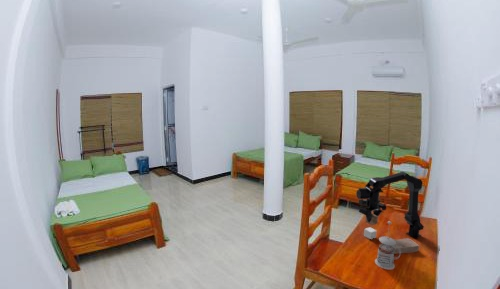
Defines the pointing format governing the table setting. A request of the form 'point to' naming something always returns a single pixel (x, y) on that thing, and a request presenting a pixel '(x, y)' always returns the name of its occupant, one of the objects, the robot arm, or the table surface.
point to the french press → (386, 246)
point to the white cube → (370, 233)
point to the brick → (405, 246)
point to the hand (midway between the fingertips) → (371, 221)
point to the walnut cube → (372, 220)
